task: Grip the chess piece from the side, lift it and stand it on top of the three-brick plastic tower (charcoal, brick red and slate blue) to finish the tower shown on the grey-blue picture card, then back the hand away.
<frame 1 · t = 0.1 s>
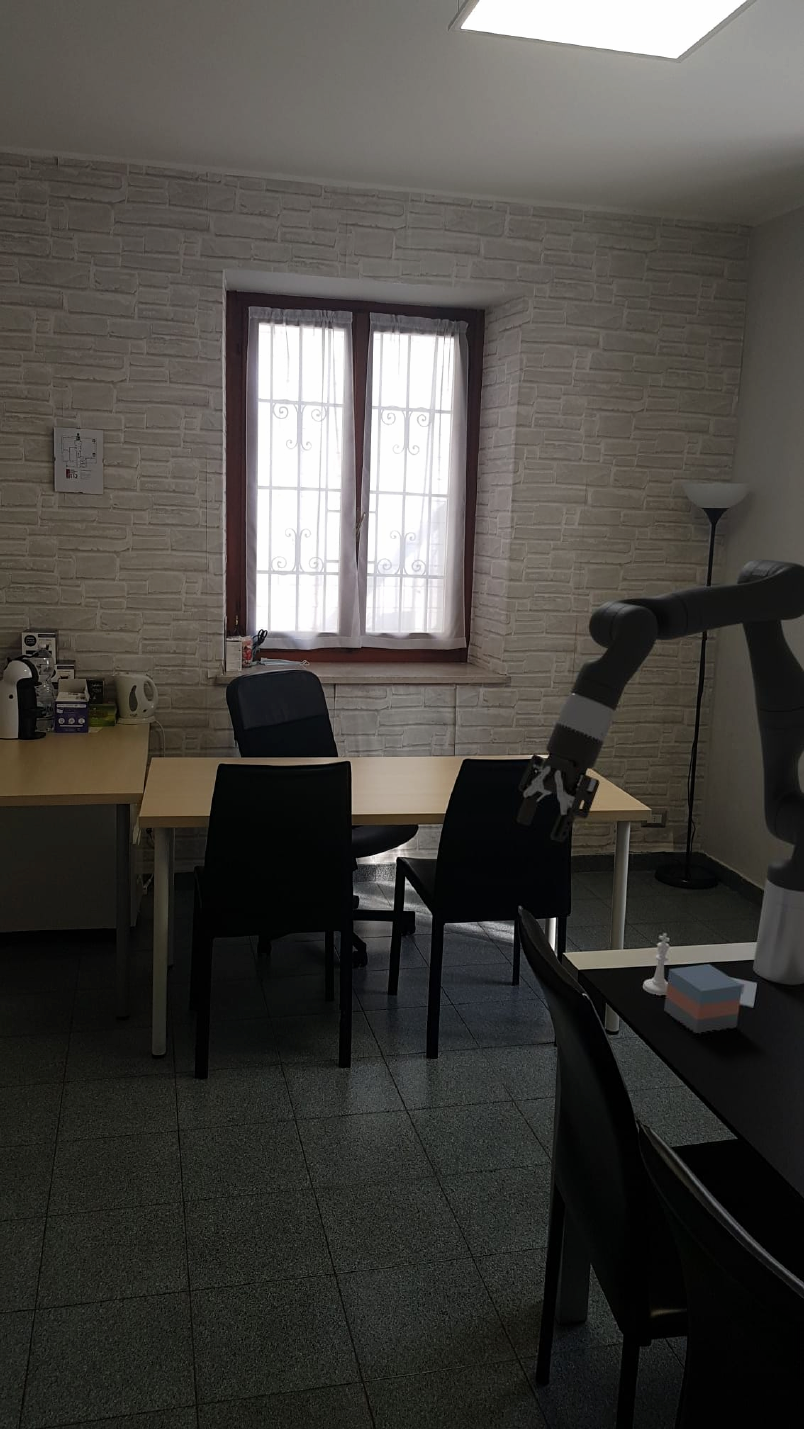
hand: (538, 831, 158), 31 cm above the table, tool tilted 20°, fingers open, 8 cm apart
brick tower: (699, 1018, 171), on the table
chess piece: (657, 990, 181), on the table
picture card: (733, 991, 183), on the table
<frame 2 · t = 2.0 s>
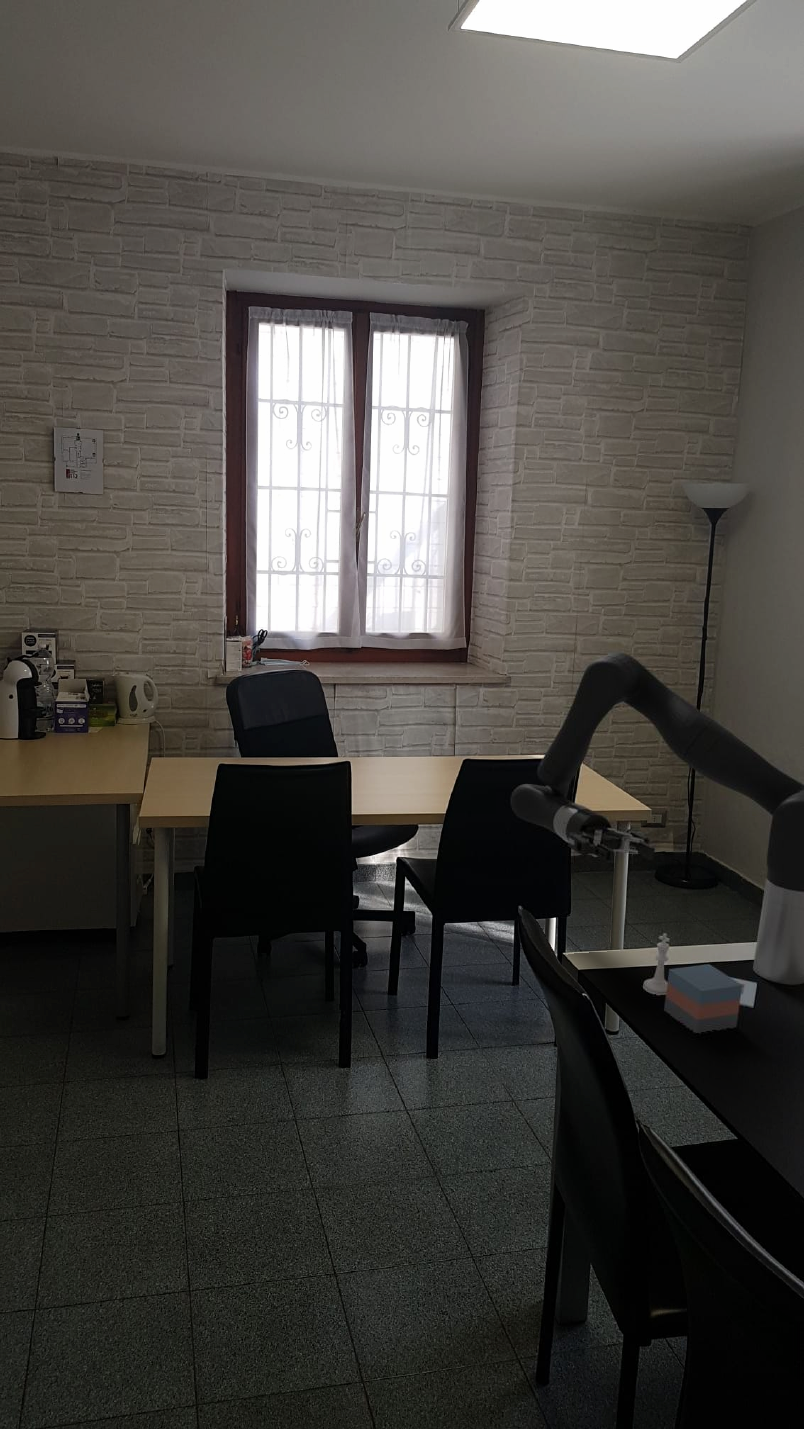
hand: (632, 855, 187), 20 cm above the table, tool horizontal, fingers open, 8 cm apart
nothing on the table moved.
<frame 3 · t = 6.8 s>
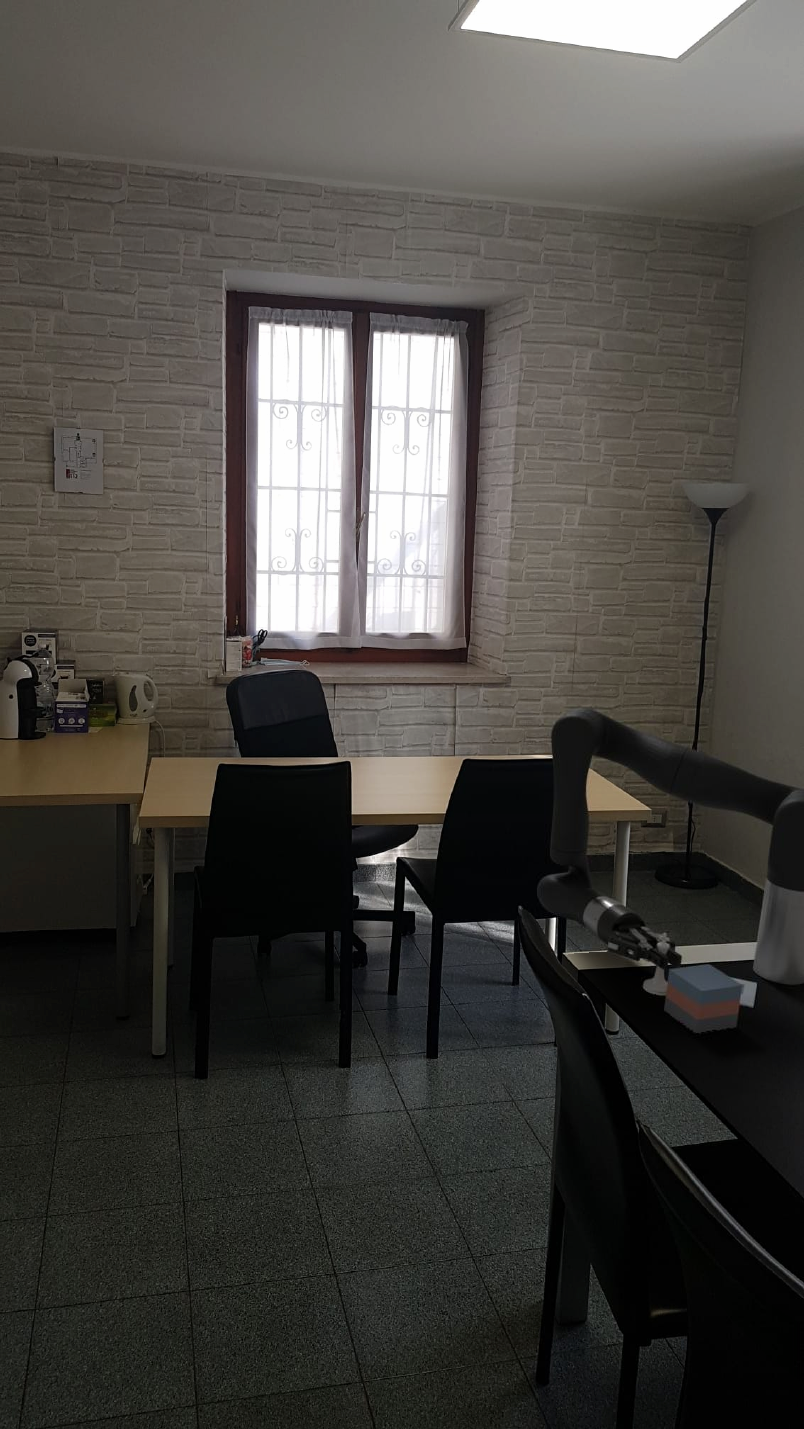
hand: (672, 962, 178), 6 cm above the table, tool horizontal, fingers closed on chess piece
chess piece: (657, 990, 181), on the table, touching gripper
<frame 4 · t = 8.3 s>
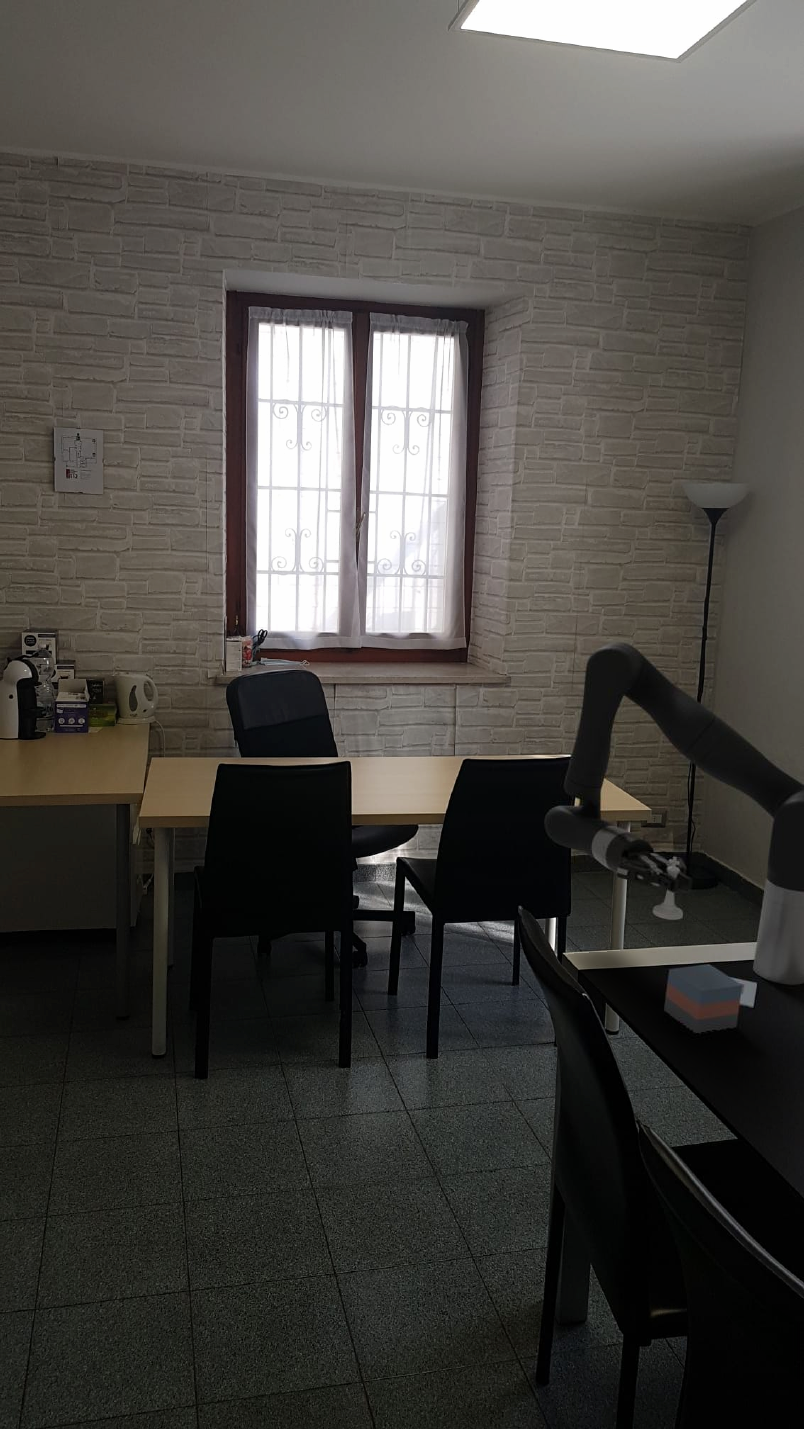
hand: (683, 886, 175), 19 cm above the table, tool horizontal, fingers closed on chess piece
chess piece: (667, 915, 179), point 13 cm above the table, touching gripper
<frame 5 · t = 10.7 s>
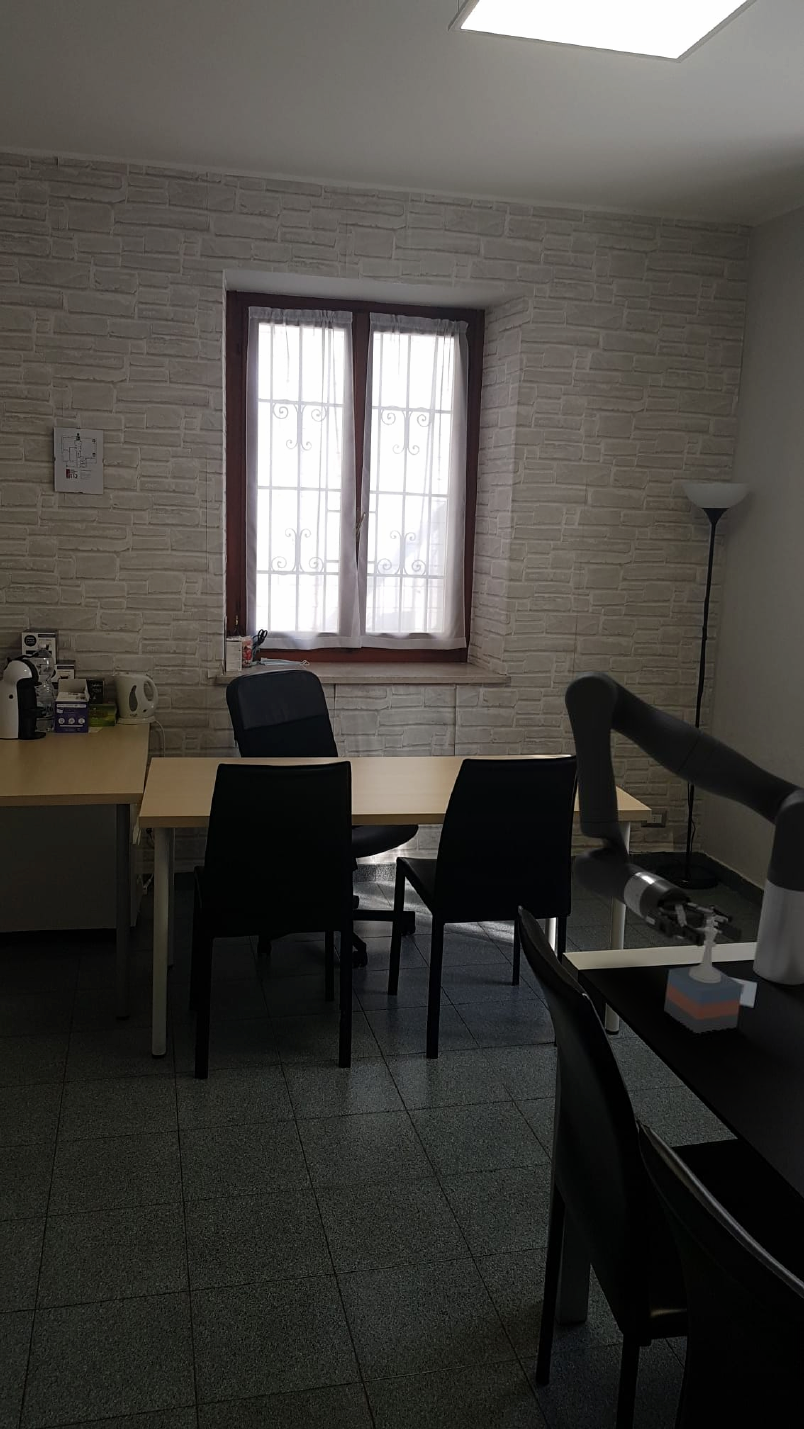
hand: (721, 938, 167), 15 cm above the table, tool horizontal, fingers open, 6 cm apart
chess piece: (704, 977, 170), point 7 cm above the table, touching brick tower
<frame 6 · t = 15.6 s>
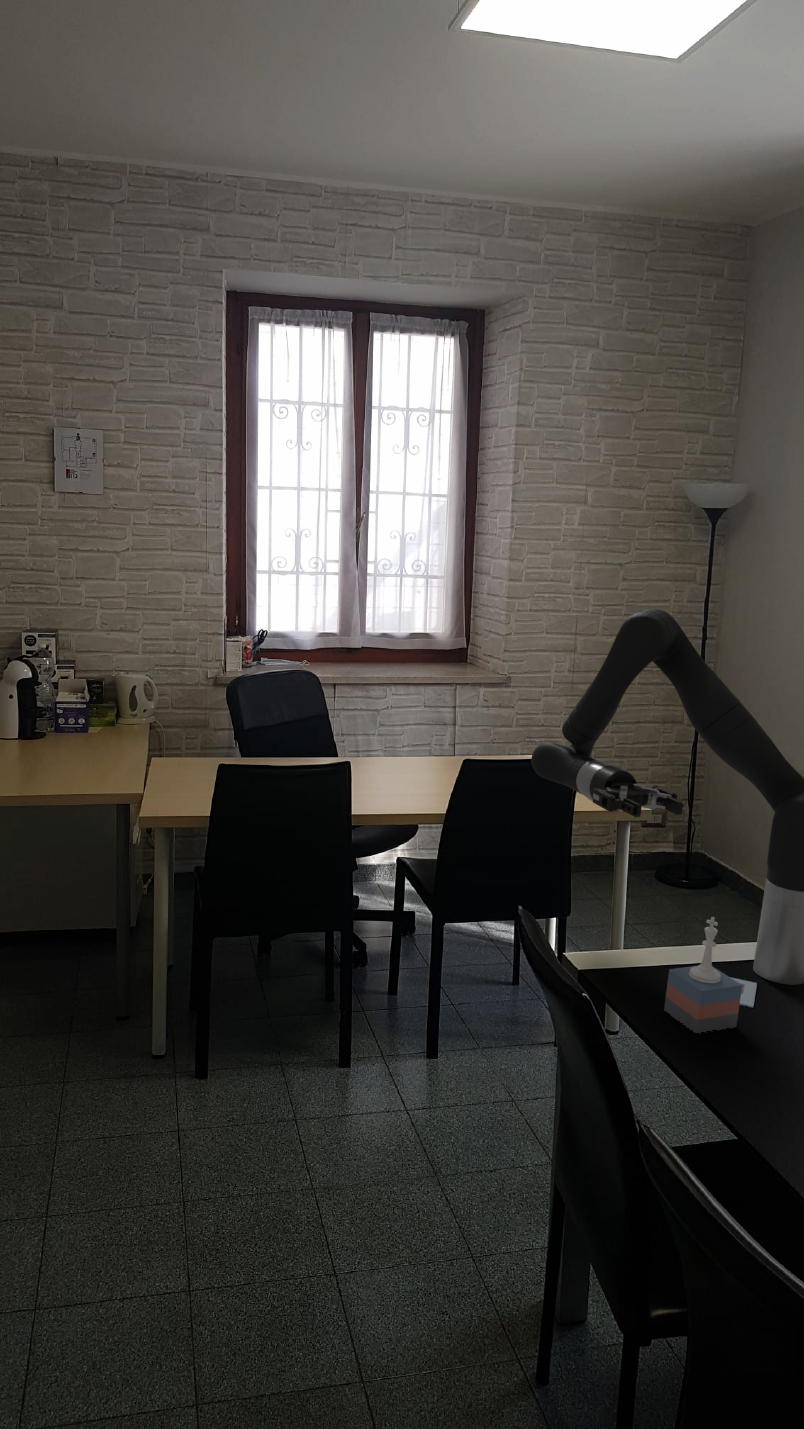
hand: (660, 810, 180), 30 cm above the table, tool horizontal, fingers open, 8 cm apart
nothing on the table moved.
at the end: chess piece 0.1 cm off-centre on the brick tower, point 7.0 cm above the brick tower's base; chess piece tilted 0°; the gripper is holding nothing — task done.
